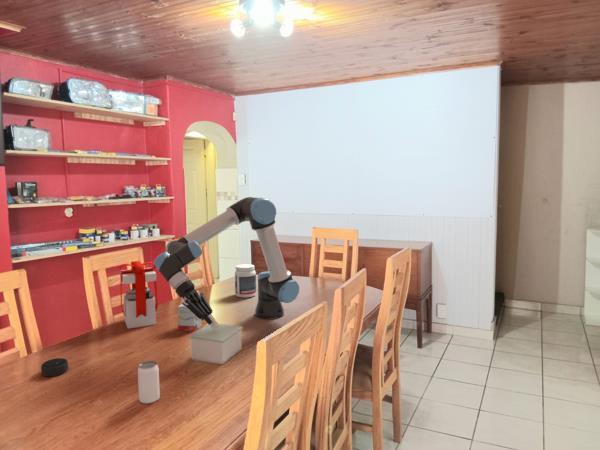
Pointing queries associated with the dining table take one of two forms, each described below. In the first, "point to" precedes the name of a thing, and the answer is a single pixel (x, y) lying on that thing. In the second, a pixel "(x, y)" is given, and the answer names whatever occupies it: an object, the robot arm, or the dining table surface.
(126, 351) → the dining table surface
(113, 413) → the dining table surface
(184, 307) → the ink box
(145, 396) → the can
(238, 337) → the storage box
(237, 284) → the supplement tub
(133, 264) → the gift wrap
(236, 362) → the dining table surface
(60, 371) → the smart speaker
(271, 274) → the robot arm
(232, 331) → the lid
